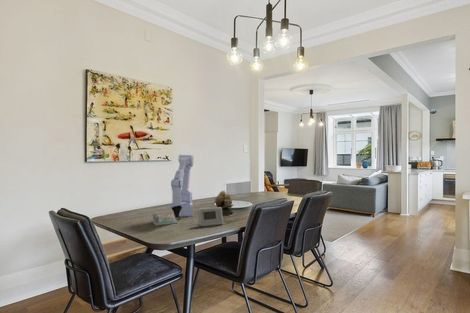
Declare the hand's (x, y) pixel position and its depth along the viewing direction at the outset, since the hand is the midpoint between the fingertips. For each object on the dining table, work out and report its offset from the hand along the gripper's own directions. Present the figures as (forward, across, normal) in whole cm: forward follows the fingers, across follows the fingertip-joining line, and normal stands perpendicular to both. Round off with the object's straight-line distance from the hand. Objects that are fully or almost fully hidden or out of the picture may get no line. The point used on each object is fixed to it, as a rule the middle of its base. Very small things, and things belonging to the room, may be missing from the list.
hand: (176, 217), depth 192 cm
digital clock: (+3, -7, +24) cm, 25 cm away
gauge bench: (+2, +7, -4) cm, 8 cm away
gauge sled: (+1, +4, -2) cm, 5 cm away
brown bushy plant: (+3, -41, +7) cm, 41 cm away
